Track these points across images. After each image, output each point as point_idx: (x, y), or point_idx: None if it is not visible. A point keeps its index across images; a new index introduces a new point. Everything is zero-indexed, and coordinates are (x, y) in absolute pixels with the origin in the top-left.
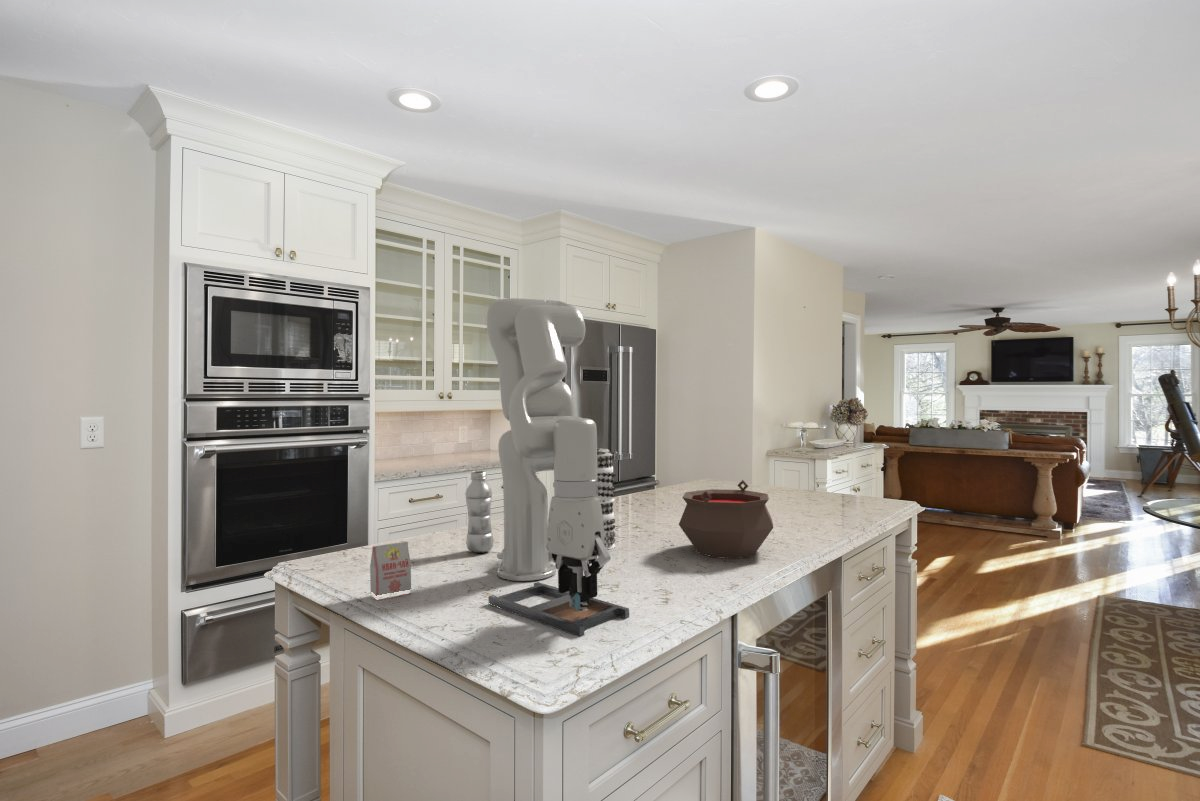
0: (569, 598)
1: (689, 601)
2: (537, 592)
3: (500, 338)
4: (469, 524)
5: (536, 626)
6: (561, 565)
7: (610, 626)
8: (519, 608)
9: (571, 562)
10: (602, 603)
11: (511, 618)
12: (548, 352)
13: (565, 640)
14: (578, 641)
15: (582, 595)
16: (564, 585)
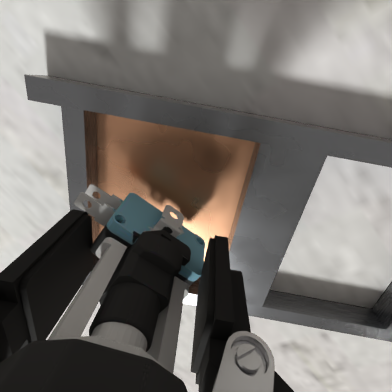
0: (177, 227)
1: None
2: (385, 302)
3: None
4: None
5: (233, 74)
6: (218, 364)
7: (51, 194)
8: (367, 137)
9: (25, 378)
10: None
11: (370, 91)
12: None
13: (56, 14)
14: (19, 35)
15: (74, 217)
16: (205, 267)
